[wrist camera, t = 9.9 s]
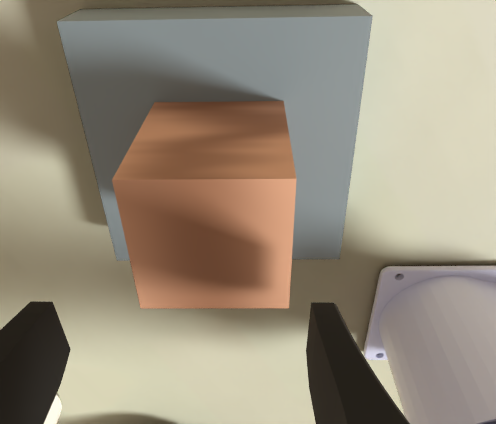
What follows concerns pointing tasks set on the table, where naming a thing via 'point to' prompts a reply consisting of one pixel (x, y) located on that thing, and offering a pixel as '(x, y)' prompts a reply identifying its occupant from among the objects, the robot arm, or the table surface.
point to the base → (228, 90)
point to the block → (210, 205)
